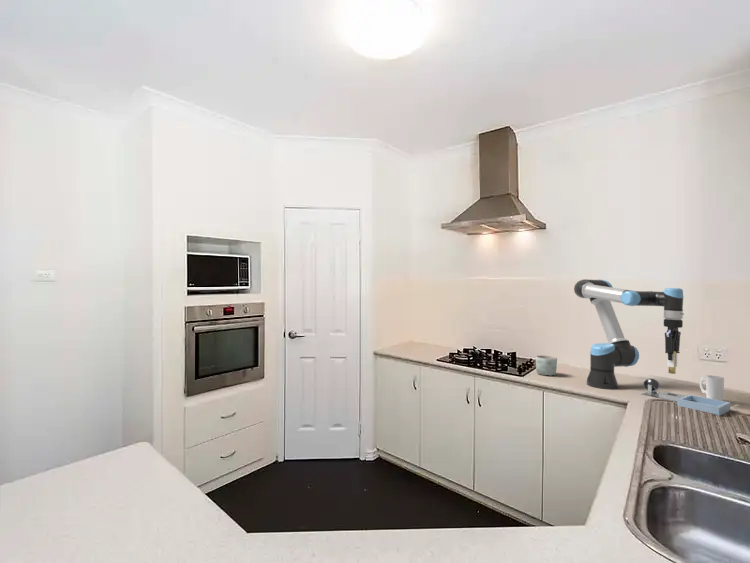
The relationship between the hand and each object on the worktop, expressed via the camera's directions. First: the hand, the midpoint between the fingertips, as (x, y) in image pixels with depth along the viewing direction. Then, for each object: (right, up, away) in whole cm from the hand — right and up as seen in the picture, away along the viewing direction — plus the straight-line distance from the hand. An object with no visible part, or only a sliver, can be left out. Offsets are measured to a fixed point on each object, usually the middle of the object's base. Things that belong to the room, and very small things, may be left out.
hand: (672, 366), depth 194 cm
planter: (-40, -17, +52) cm, 67 cm away
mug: (+20, -17, 0) cm, 26 cm away
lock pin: (0, -3, 0) cm, 3 cm away
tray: (+4, -17, -14) cm, 22 cm away
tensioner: (-2, -17, +2) cm, 17 cm away
